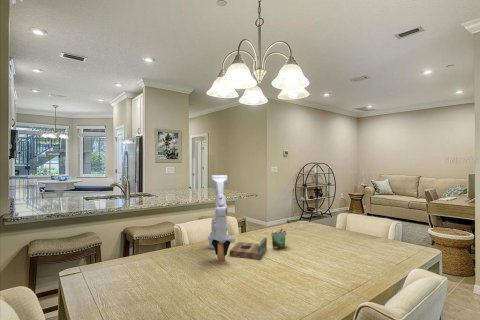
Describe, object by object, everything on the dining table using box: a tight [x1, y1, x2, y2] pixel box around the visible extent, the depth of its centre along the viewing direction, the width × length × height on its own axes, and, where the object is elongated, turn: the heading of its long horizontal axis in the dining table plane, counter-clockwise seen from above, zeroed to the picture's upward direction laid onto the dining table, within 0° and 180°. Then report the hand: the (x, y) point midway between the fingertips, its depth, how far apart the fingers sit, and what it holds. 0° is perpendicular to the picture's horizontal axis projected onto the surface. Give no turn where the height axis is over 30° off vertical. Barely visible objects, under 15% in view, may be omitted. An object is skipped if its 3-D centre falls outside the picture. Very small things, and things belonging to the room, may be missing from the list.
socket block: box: [228, 237, 268, 260], centre depth 151 cm, size 18×16×7 cm
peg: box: [217, 242, 226, 263], centre depth 140 cm, size 4×4×9 cm
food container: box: [271, 228, 288, 250], centre depth 159 cm, size 12×6×10 cm, turn 143°
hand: (221, 254), depth 140 cm, fingers open, 4 cm apart
